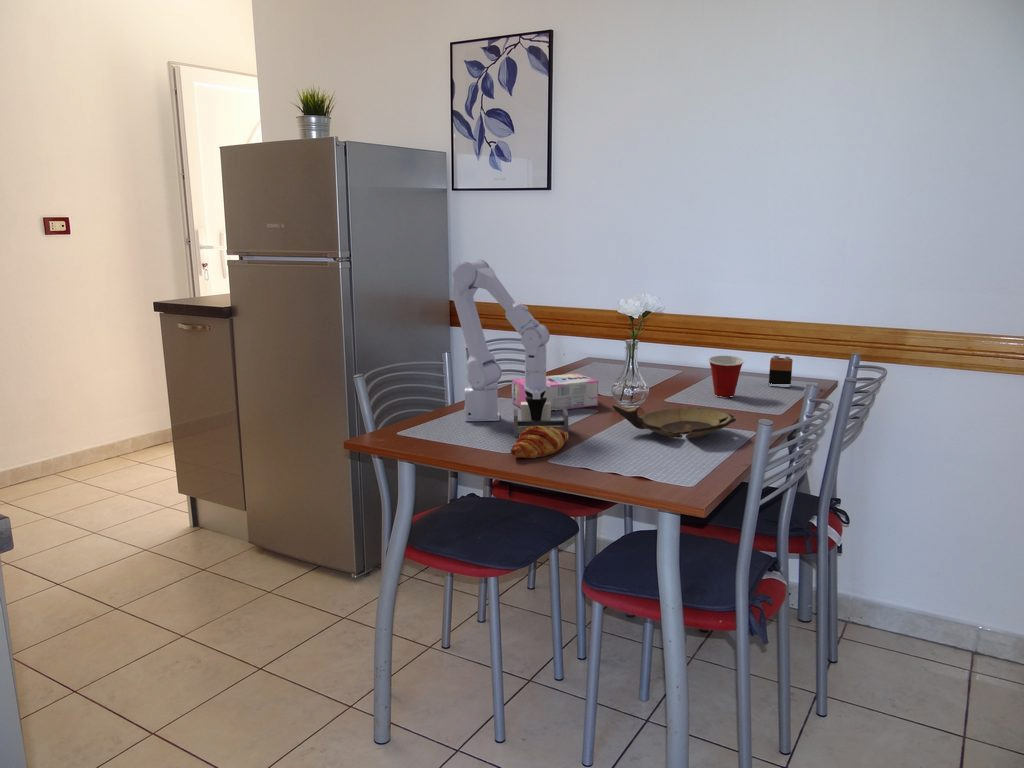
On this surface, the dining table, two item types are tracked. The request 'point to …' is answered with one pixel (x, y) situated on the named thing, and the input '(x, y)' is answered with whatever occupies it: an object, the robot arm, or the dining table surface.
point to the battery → (780, 370)
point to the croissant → (539, 442)
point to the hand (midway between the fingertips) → (535, 419)
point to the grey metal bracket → (540, 423)
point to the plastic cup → (725, 374)
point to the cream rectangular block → (527, 416)
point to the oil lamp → (679, 421)
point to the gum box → (562, 391)
